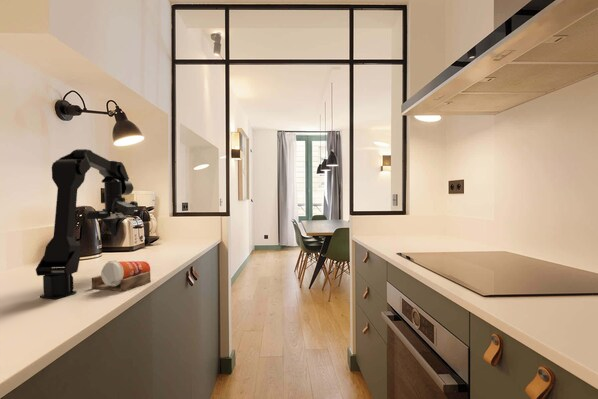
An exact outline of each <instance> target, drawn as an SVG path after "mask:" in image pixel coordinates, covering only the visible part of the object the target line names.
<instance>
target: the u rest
mask: <svg viewBox="0 0 598 399" xmlns="http://www.w3.org/2000/svg"><path fill="white" fill-rule="evenodd" d="M148 283H151V271H150V272H145V273H142V274H139V275H136V276H132V277H129V278H126V279H122V280H121V284H118V285H117V286H109V285H106V284H105V283H104V282H103V280H102V278H101V275H97V276H94V277H91V289H94V290H95V289H97V290H106V291H107V290H109V291H119V292H120V291H121V292H126V291H129V290H131V289H134V288H137V287H140V286H143V285H145V284H148Z"/></svg>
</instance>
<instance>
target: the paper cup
mask: <svg viewBox="0 0 598 399" xmlns="http://www.w3.org/2000/svg"><path fill="white" fill-rule="evenodd" d="M145 272H150V273H151V266H150V263H148V262H147V261H143V260H142V261H139V260H137V261H134V260H133V261H129V260H128V261H126V260H125V261H123V260H121V261H117V260H109V261H107V262H106V263H105V264H104V266H103V267H102V269H101V272H100V276H101V278H102V280H103V282H104V283H105V284H106V285H109V286H117V285H118V284H121V280H122V279H126V278H129V277H132V276H136V275H139V274H142V273H145Z"/></svg>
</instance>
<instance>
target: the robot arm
mask: <svg viewBox="0 0 598 399" xmlns="http://www.w3.org/2000/svg"><path fill="white" fill-rule="evenodd" d="M91 168H93V169H95V170H97V171H98V173H99V174H100V175H101V176H103V179H102V180H101V183H104V187H103V188H104V197H102V198H101V199H102V200H101V201H104V208H103V209H102V208H101V209H102V210H88V212H87V213H86V220H100V221H102V222H103V223H104V225H105V226H106V227H107V230H108V231H109V233H110V234H111V237H112V238H113V237H115V238H116V237H117V236H118V233H119V230H120V227H121V225H122V223H123V222H124V221H125V220H127V219H128V217H127V216H129V217H130V216H132V217H136V216H137V217H138V216H139V210H138V208H139V205H138V201H136V200H135V201H130V202H126V198H125V197H123V196H128V195H131V194H132V193H133V191H134V186H133V184H132V182H131V181H129V180H130V177H129V174H128V173H127V170H126V167H125V165H124V163H123V162H122V161H119V160H112V159H111V160H110V159H107V158H105V157H103V156H101V155H100V154H97V153H95V152H93V151H92V150H91V149H89V148H85V149H84V148H80V149H79V148H77V149H74V150H72V151H71V152H69V153H68V154H66V155H63V156H62V157H60V158H58V159H57V160H55V161H54V162H52V165H51V180H52V181H53V183H54V184H55V185H56V188H57V191H56V192H57V193H56V205H55V217H54V227H53V237H51V239H50V240H49V242H48V243H47V244H46V246H45V249H44V254H43V256H42V257H41V260H40V262H39V263H38V265H37V266H36V268H35V273H36V276H37V277H39V276H42V280H43V281H42V284H43V294H41V295H39V298H41V299H53V300H56V299H61V298H64V297H67V296H71V295H73V294H77V290H74V276H73V274H75V273H77V272H79V265H80V259H81V248H82V245H81V242H78V241H77V240H76V238H75V226H76V225H75V224H76V212H77V211H76V210H77V200H78V198H77V197H78V189H79V188H80V187H81V186H82V184H83V183H84V181H85V178H86V173H87V172H89V170H90V169H91Z"/></svg>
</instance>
